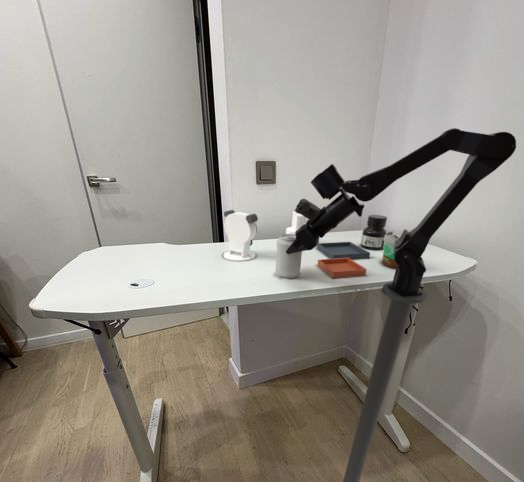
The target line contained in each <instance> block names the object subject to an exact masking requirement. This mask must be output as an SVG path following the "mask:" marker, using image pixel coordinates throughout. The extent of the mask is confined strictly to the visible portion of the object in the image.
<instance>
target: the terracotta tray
mask: <svg viewBox="0 0 524 482" xmlns="http://www.w3.org/2000/svg"><path fill="white" fill-rule="evenodd" d="M316 266H317V267H319V268H320V269H321V270H322V271H324V272H325V274H327V275H328V276H329V277H330V278H332V279H340V278H351V277H364V276H366V274H367V269H368V268H367V269H366V268H365V267H364V266H362V265H360V264H359V263H357V261H355V260H354V259H350V258H336V259H330V258H324V259H317V265H316Z"/></svg>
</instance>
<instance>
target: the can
mask: <svg viewBox="0 0 524 482" xmlns="http://www.w3.org/2000/svg"><path fill="white" fill-rule="evenodd" d="M295 239H296V235H295V234H286V233H281V234H280V235H279V238H278V239H277V240H276V249H275V250H276V253H275V254H276V255H275V273H276V274H277V275H278V277H281V278H284V279H293V278H296V277H297V276H299V275H300V273H301V265H302V254H303V253H302V252H303V251H301V252H296V253H292V254H287V253H286V250H287V249H288V248H289V247H290V245H291V244H292V243H293V242H294V240H295Z"/></svg>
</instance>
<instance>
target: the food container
mask: <svg viewBox="0 0 524 482" xmlns="http://www.w3.org/2000/svg"><path fill="white" fill-rule="evenodd" d="M386 232H387V233H386V235H385V236H384V239H383V240H384V241H385V243H384V247H383V253H382V258H381V259H382V260H381V264H382V265H383V266H384V267H386V268H390V269H393V270H397V266H399V265H398V264H397V263H396V261H395V258H394V247H395V241H396V240H398V239H399V238H400V236H401V235H400V236H399V235H397V234H393V233H394V231H386Z"/></svg>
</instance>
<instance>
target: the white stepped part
mask: <svg viewBox="0 0 524 482" xmlns="http://www.w3.org/2000/svg"><path fill="white" fill-rule="evenodd" d="M305 219H306V217H304V216H303V215H301V214H298V213H296V212H295V211H292V217H291V226H288V227H286V229H285V234H295V232H296V231H297V230H298V229H299V228H300V227H301V226H302V225H304V224H305V222H306V221H305Z"/></svg>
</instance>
